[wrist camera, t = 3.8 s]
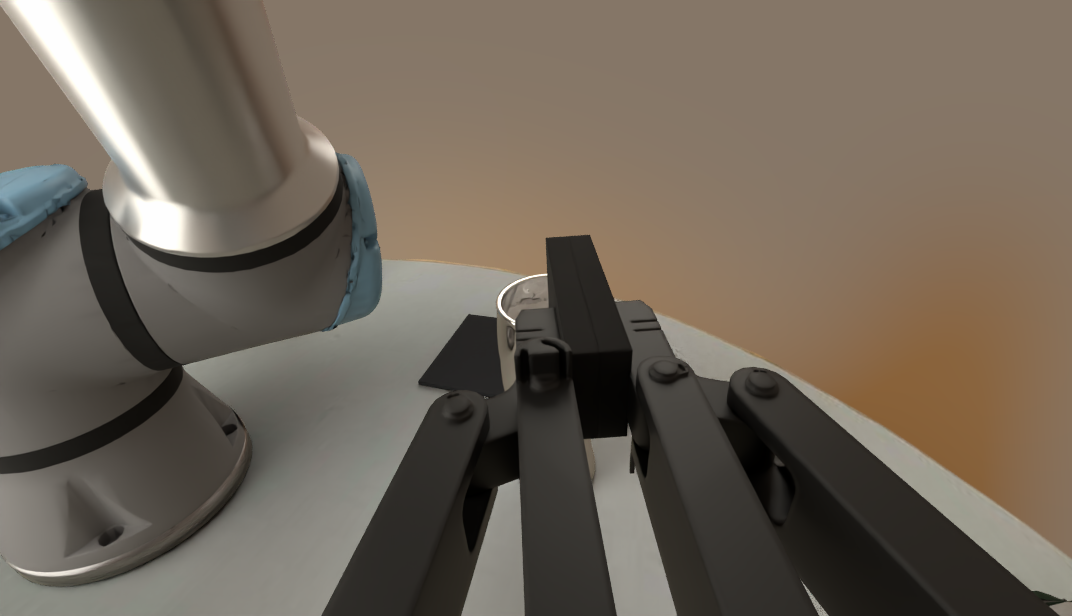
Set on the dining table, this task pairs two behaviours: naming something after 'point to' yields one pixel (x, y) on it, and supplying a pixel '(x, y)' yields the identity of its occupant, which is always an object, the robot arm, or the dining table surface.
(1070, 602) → the miniature car
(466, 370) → the mat
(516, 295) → the silver metal tumbler
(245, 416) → the dining table surface
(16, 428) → the robot arm
